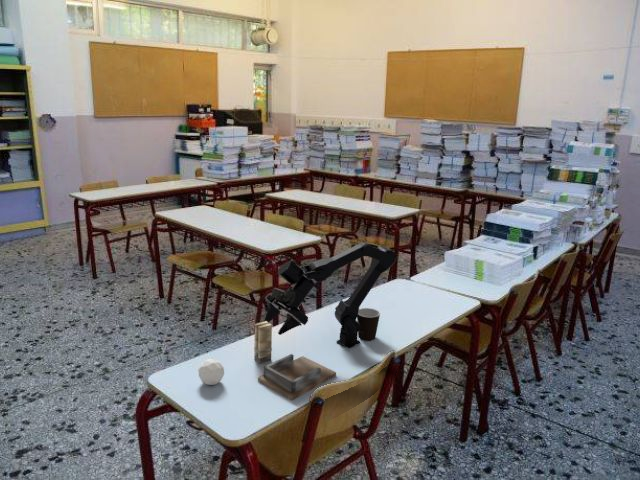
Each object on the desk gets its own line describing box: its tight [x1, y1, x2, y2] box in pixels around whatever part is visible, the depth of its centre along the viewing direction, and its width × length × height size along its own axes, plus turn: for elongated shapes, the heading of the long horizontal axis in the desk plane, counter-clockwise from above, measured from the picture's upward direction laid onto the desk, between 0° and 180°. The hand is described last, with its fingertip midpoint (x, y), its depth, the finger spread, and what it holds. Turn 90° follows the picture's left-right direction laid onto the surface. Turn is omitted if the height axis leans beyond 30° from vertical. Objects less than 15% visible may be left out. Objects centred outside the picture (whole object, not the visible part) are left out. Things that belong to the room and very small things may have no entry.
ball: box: [197, 358, 225, 386], centre depth 157 cm, size 8×8×8 cm
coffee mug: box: [356, 307, 381, 342], centre depth 193 cm, size 12×9×10 cm
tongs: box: [253, 321, 273, 364], centre depth 171 cm, size 5×4×13 cm
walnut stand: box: [257, 353, 337, 401], centre depth 162 cm, size 20×15×5 cm
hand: (271, 329), depth 172 cm, fingers open, 9 cm apart
